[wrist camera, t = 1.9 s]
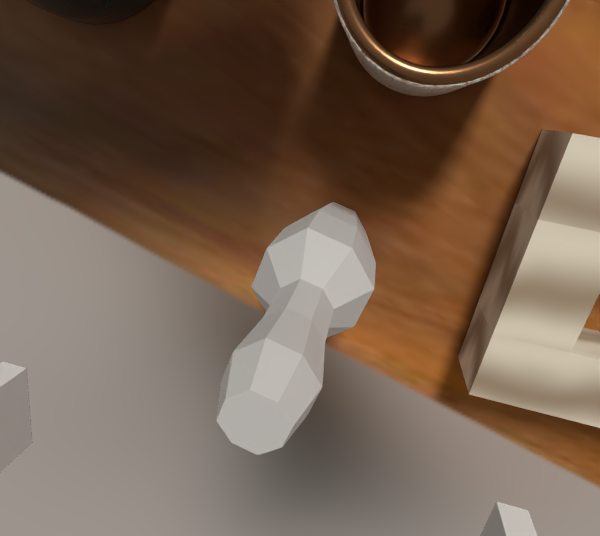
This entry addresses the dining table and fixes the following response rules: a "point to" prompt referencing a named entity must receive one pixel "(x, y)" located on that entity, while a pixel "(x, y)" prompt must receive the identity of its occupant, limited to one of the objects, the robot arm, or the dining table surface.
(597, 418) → the socket block
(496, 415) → the dining table surface
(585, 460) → the dining table surface
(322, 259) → the low poly bottle
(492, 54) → the planter
